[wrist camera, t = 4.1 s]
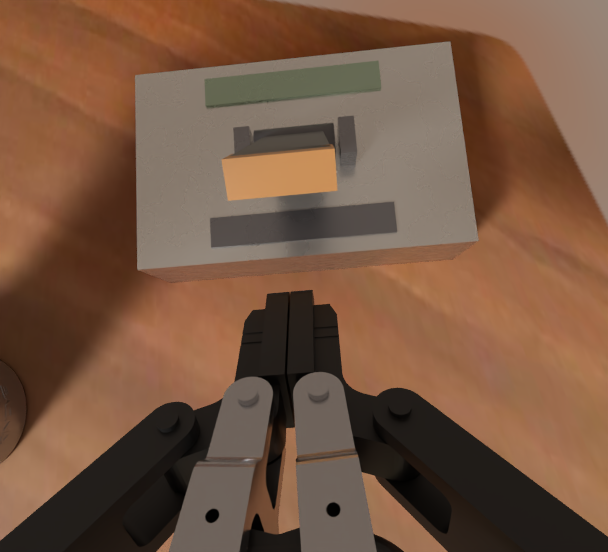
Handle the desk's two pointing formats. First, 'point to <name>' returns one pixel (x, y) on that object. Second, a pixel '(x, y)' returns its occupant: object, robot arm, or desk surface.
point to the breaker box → (313, 206)
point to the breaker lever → (283, 163)
